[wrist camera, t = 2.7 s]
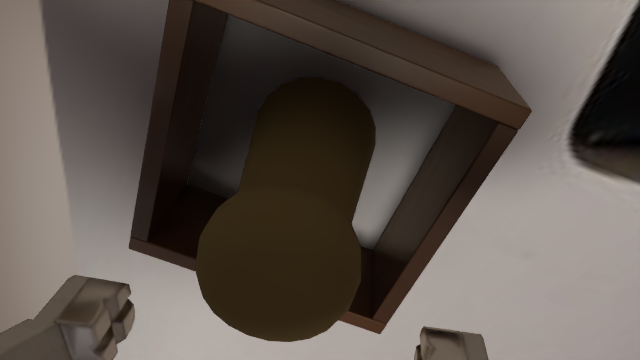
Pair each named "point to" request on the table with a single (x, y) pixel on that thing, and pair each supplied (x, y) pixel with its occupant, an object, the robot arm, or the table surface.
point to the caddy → (357, 48)
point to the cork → (291, 216)
